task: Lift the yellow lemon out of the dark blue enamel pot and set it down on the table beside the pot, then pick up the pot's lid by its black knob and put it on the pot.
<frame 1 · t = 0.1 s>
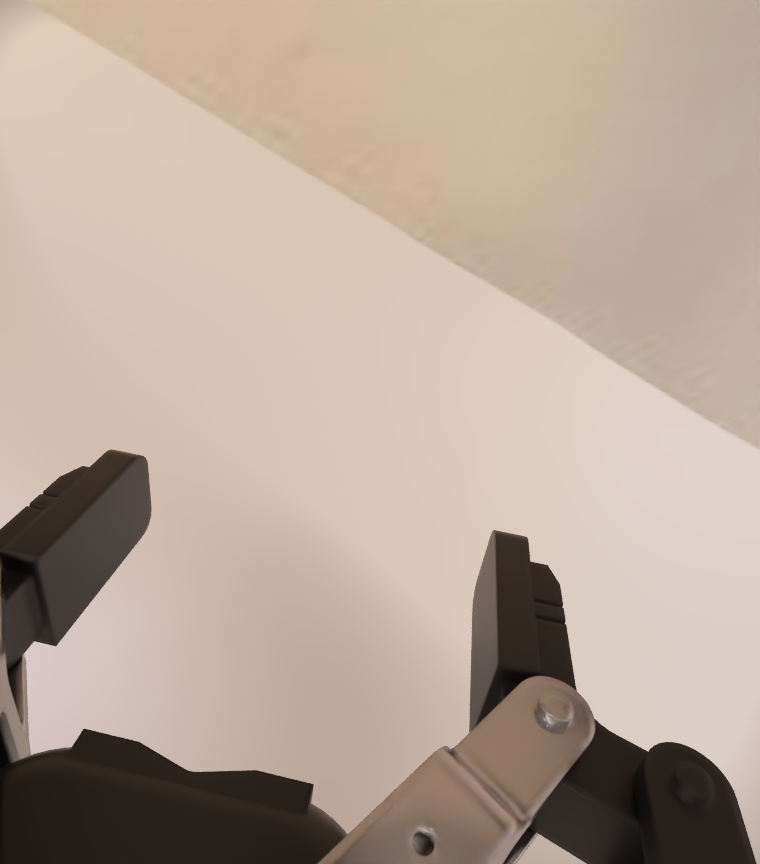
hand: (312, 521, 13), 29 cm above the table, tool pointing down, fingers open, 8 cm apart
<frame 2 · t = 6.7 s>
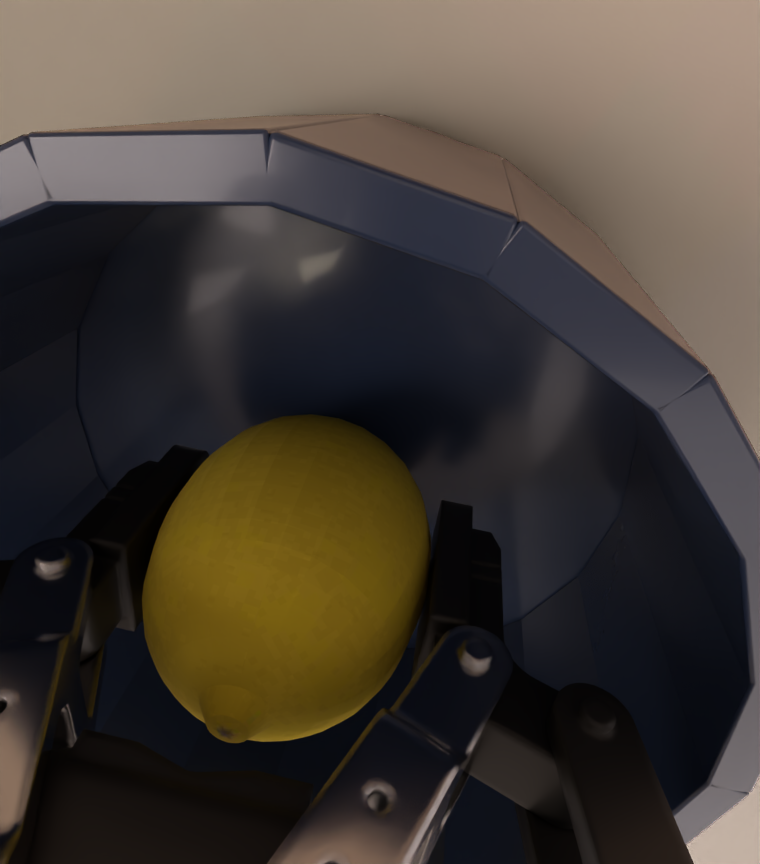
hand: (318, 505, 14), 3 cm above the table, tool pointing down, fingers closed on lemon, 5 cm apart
pot: (342, 451, 16), on the table
lemon: (341, 453, 16), resting on pot, touching gripper
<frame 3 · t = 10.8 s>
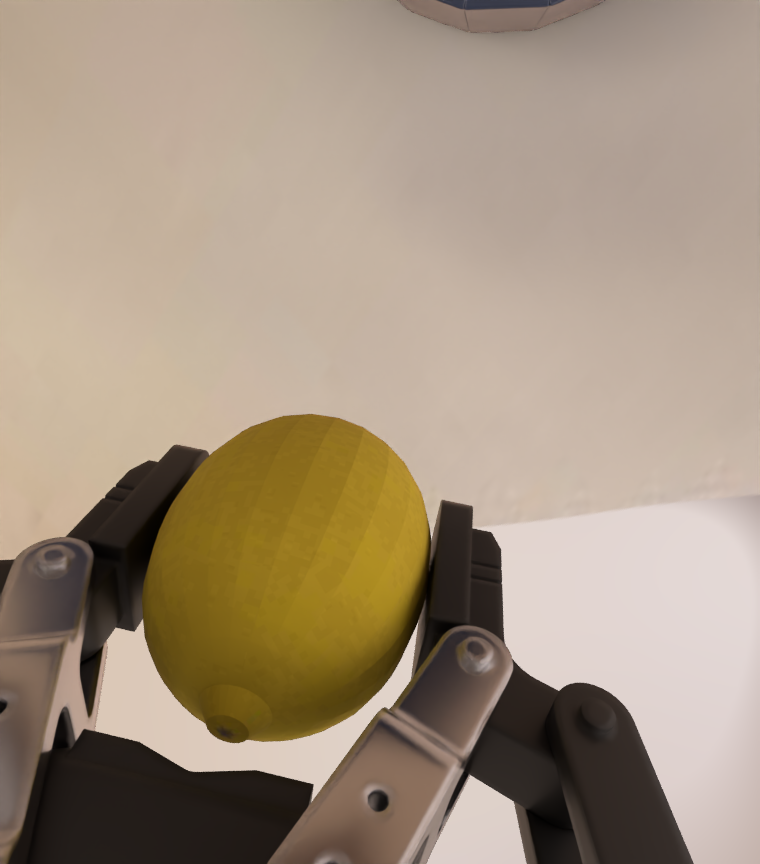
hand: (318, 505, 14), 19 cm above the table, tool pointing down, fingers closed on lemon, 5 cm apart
lemon: (341, 452, 16), point 16 cm above the table, touching gripper
when the fingers open (2 cm above the table, at t = 14.9 s): lemon stays where it is, on the table.
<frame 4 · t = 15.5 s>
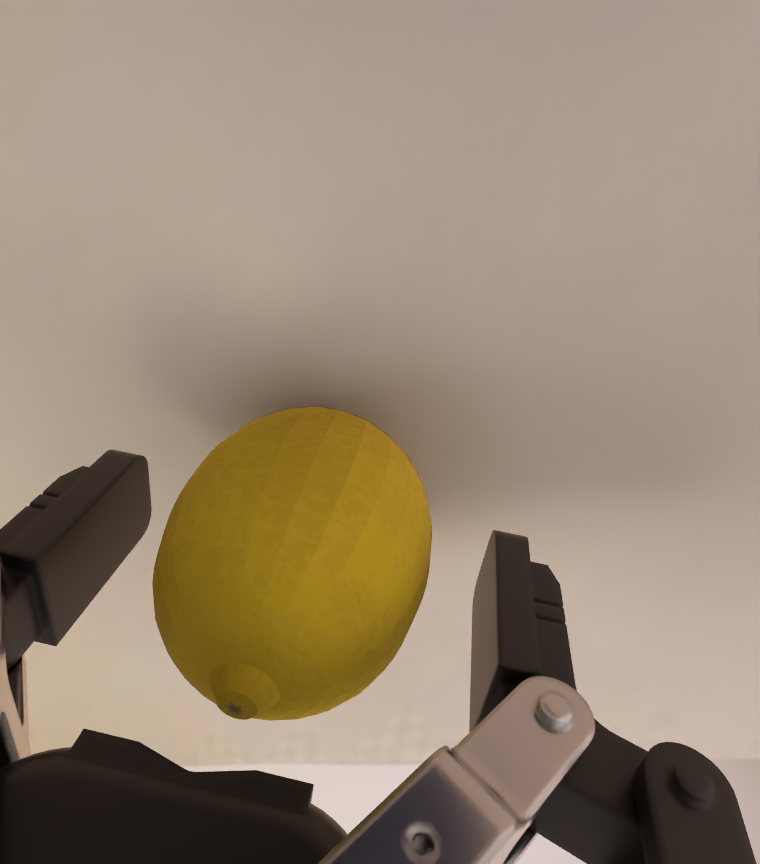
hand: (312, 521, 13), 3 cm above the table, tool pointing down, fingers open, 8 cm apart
lemon: (343, 445, 16), on the table
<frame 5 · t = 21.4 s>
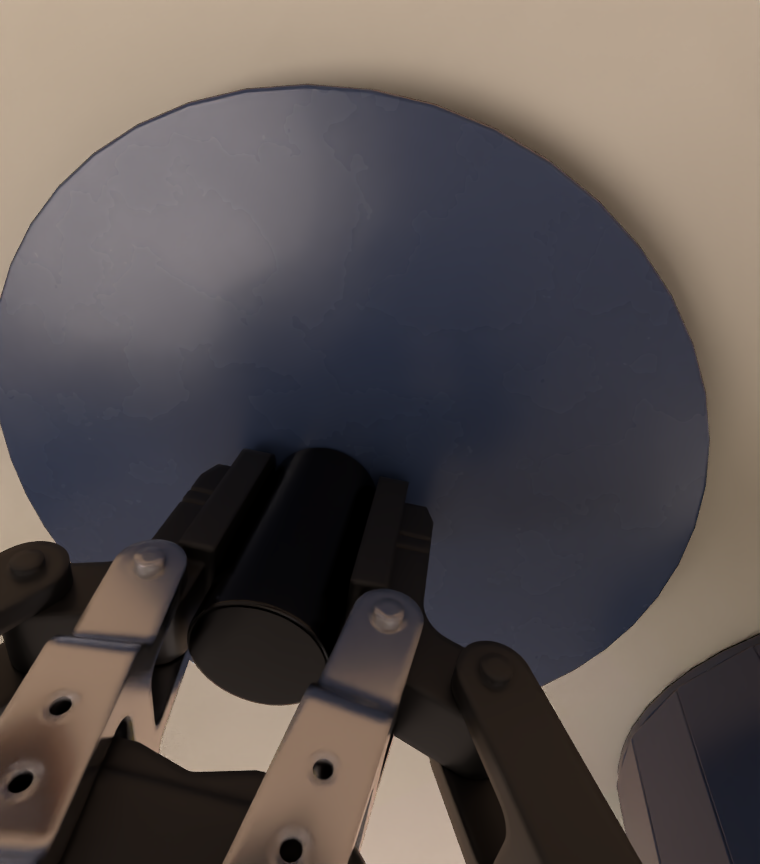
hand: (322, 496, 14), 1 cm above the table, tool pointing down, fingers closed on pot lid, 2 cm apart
pot lid: (331, 477, 15), point 1 cm above the table, touching gripper
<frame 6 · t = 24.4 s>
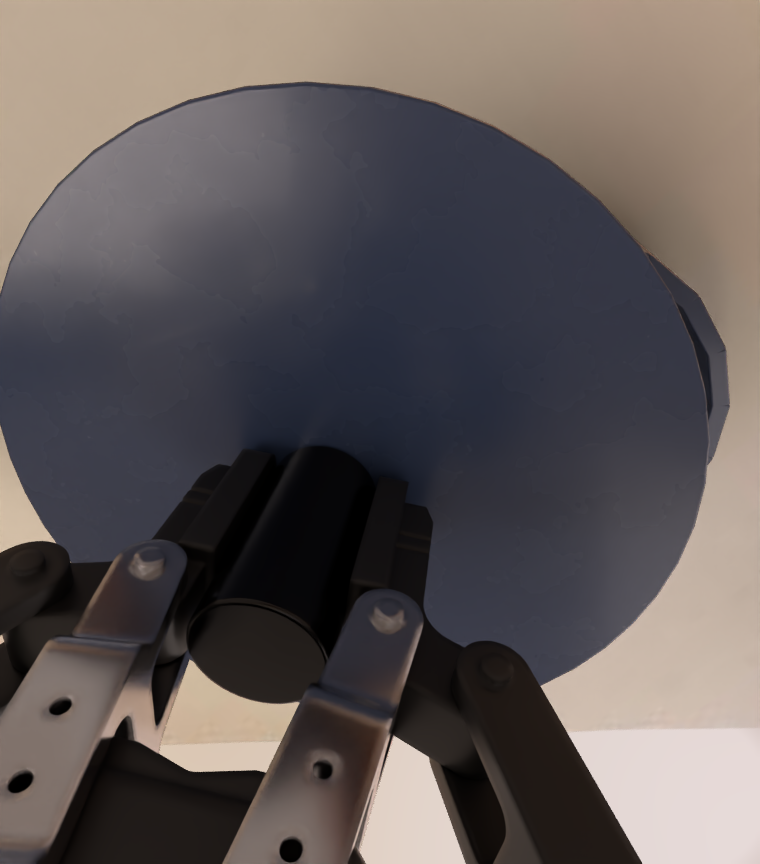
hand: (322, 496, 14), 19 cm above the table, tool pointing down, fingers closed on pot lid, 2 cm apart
pot: (517, 358, 32), on the table
pot lid: (330, 476, 15), point 19 cm above the table, touching gripper
when the fingers open (8 cm above the table, at t = 27.9 s): pot lid stays where it is, resting on pot.
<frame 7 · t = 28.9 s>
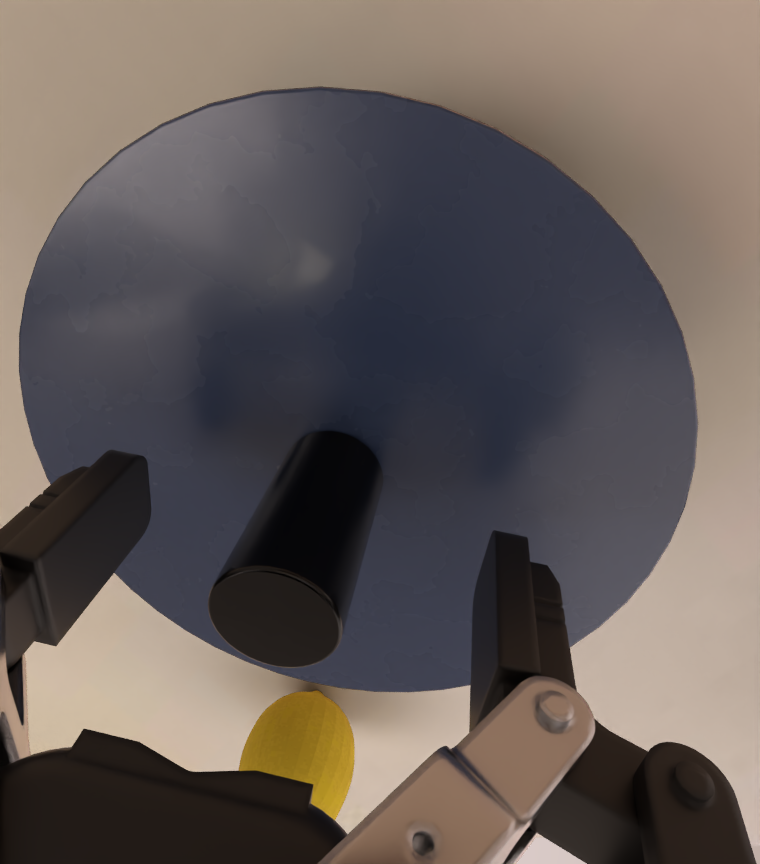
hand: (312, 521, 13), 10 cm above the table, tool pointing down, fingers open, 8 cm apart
pot lid: (339, 460, 16), point 7 cm above the table, touching pot
lemon: (318, 689, 32), on the table
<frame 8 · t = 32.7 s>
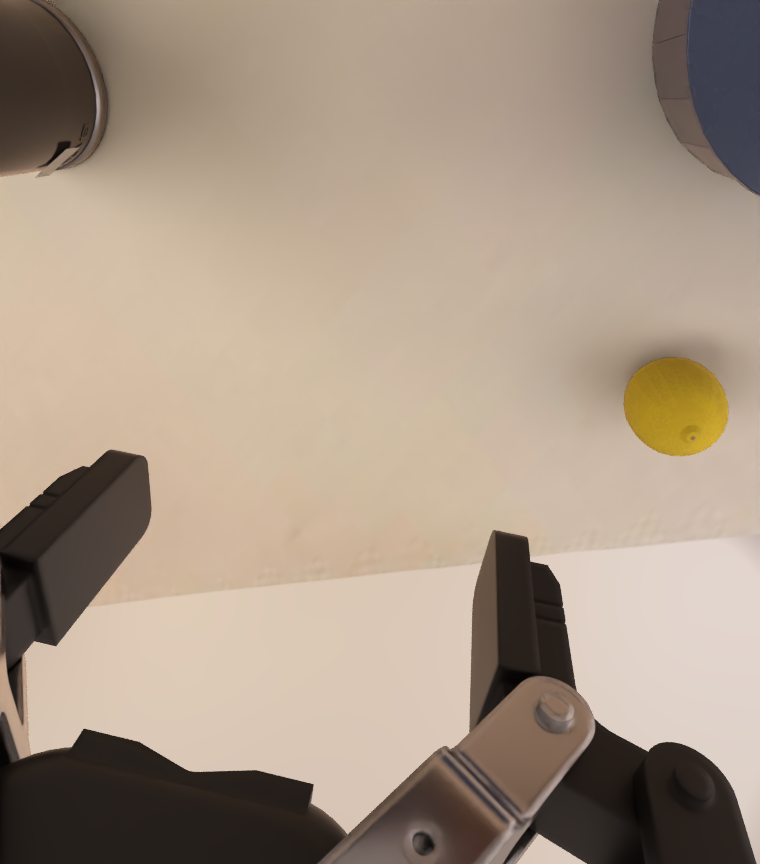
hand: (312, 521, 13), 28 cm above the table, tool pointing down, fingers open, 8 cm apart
lemon: (656, 377, 39), on the table
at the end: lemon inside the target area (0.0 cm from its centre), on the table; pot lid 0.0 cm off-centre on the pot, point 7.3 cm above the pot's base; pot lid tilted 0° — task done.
